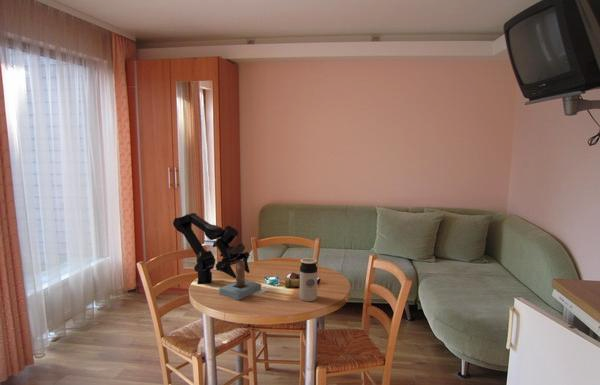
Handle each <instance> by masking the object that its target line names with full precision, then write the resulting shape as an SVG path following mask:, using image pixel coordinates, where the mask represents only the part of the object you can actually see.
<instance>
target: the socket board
mask: <svg viewBox="0 0 600 385" xmlns="http://www.w3.org/2000/svg"><path fill="white" fill-rule="evenodd" d="M218 290H219V295H220V296H224V297H226V298H230V299H233V300H237V301H240V300H242V299H244V298H246V297H248V296H251V295H253V294H255V293H257V292H259V291H261V290H262V284H261V283H259V282H255V281H252V280H248V279H245V287H244V288H242V289H240V288H236V281H234V282H232V283H228V284H227V285H223V286H222V287H219V288H218Z"/></svg>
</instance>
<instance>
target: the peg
mask: <svg viewBox="0 0 600 385" xmlns="http://www.w3.org/2000/svg"><path fill="white" fill-rule="evenodd" d="M245 272H246V271H245V261H243V260H239V261H236V262H235V275H236V278H235V282H236V288H240V289H242V288H244V287H245V280H246V279H245V278H246V276H245V274H246V273H245Z"/></svg>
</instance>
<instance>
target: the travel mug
mask: <svg viewBox="0 0 600 385" xmlns="http://www.w3.org/2000/svg"><path fill="white" fill-rule="evenodd" d="M317 262H318V260H317V259H316V258H311V257H310V258H309V257H307V258H305V257H304V258H302V259H300V263H301V264H300V266H299V279H300V286H299V299H300V300H301V301H304V302H313V301H316V300H317V298H318V266H317Z"/></svg>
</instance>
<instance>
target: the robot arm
mask: <svg viewBox="0 0 600 385" xmlns="http://www.w3.org/2000/svg"><path fill="white" fill-rule="evenodd" d="M172 224H173V227H174V228H175V230H176V231H177V232H179V233H180V234H182V235H183V236H184V238H185V240H186V241H187V242H188V244H189V246H190V247H191V249H192V251H193V252H194V254H195V255H196V259H195V261H196V264H195V265H194V266H193V267H194V268H193V269H194V271H195V272H197V284H199V285H200V284H203V285H204V284H211V282H212V281H213V272H212V270H213V269H214V268H215V269H216V271H220V272H223V273H224V274H227V275H228V276H230V277H232V278H233V279H236V272H235V271H234V270H233V268H232V265H231V264H232V263H236V261H239V260H243V261H245V272H246V273H247V274H249V273H250V269H249V264H248V261H249V260H248V259H249V258H250V256H251V255H250V253H249V252H248V251H245V250H246V249H245V248H246V246H245V245H244V243H239V244H237V246H233V245H232V246H231V243H233V242H234V241H235V240H236V238H237V237H238V235H239V232H238V230H237V229H236V228H234V227H232V226H231V225H227V226H225V228H222V227H221V226H219V225H216V224H211V223H209V222H207V221H206V220H205V219H203V218H201V216H199V215H198V214H197V213H195V212H192V213H187V214H185V215H182V216H179V217H175V218H174V219H173V222H172ZM192 224H193V226H195V227H197V228H198V229H199V230H201V231H203V233H204V235H205V237H206V238H208V240H210V241H213V240H215V241H213V243H212V247H213V248H217V250H218V251H219V252H220V254H219V256H220V257H223V258H221V259H219V261H218V262H217V263H216V258H215V255H214V254H213V252H212V251H211V250H207V249H205V248H204V246H203V245H202V242H200V240H199V239H198V237H197V235H196V233H195V232H194V230H193V228H192Z"/></svg>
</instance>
